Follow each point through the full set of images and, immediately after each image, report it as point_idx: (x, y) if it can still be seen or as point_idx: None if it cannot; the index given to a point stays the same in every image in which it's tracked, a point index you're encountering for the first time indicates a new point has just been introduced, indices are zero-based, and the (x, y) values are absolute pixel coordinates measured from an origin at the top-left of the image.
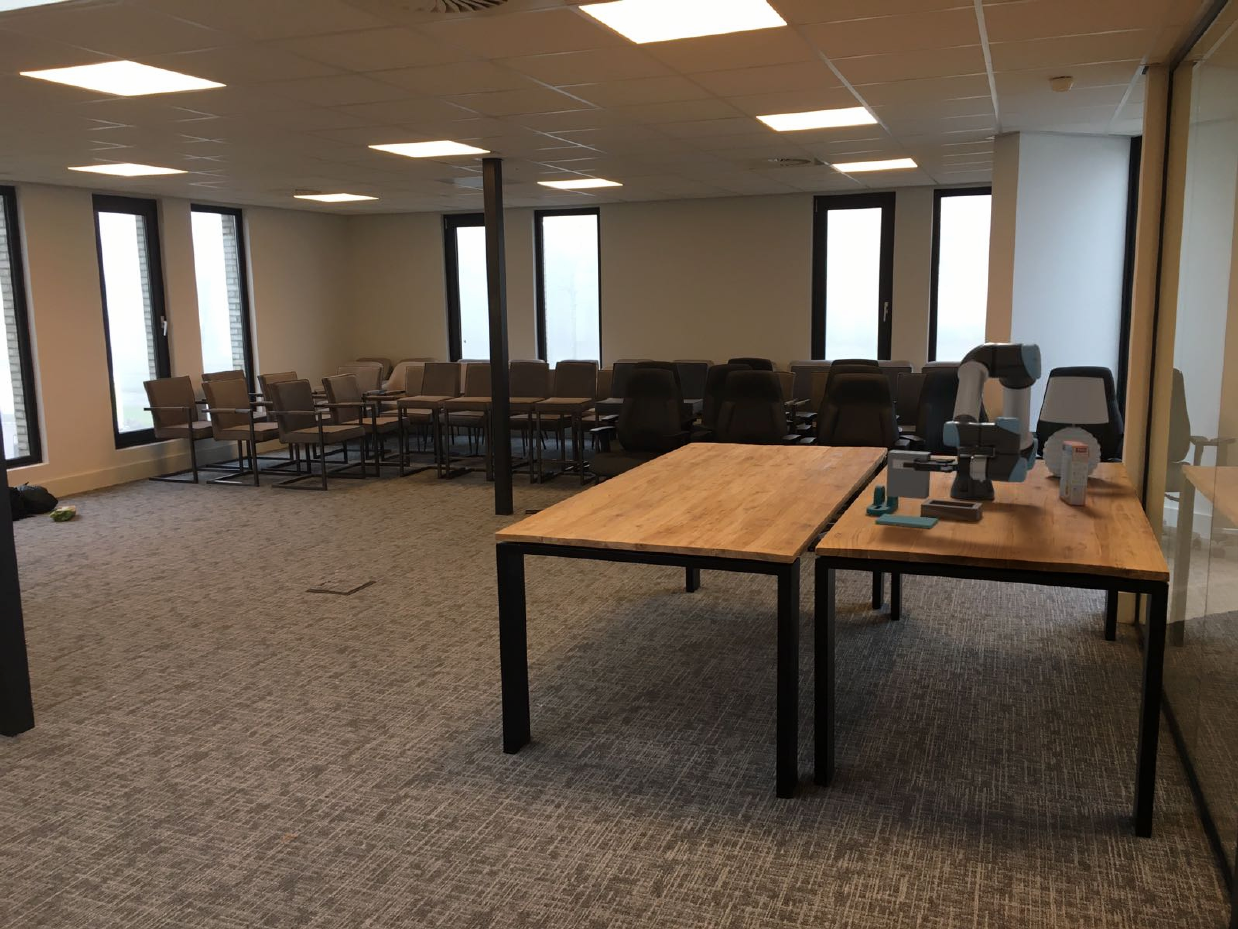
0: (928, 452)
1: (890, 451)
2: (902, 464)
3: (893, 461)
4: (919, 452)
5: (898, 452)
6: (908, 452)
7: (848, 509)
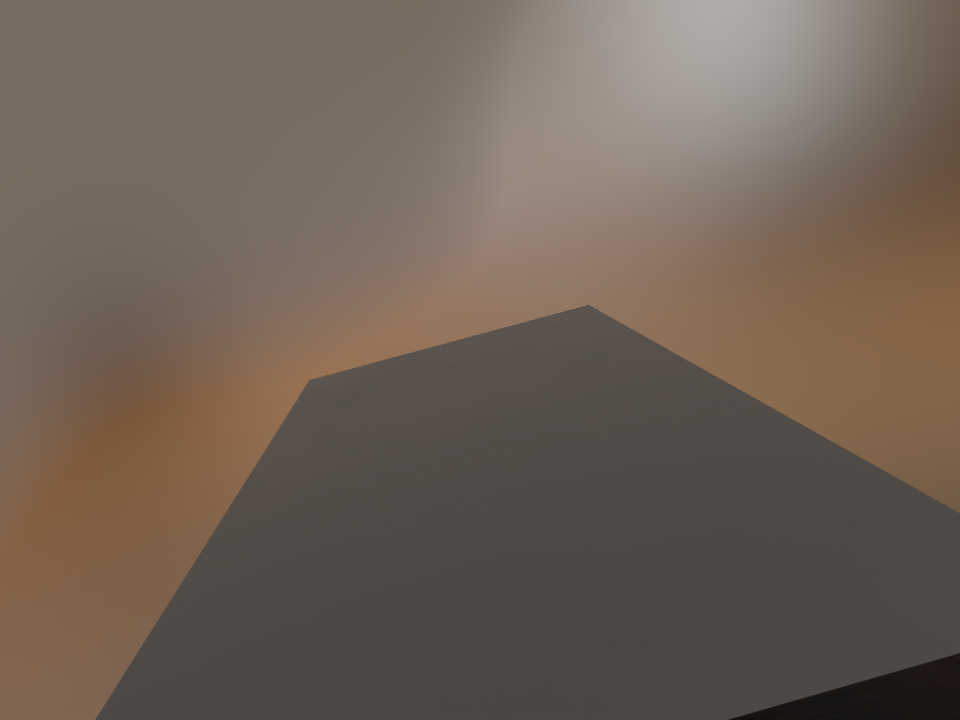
0: (900, 585)
1: (409, 356)
2: None
3: None
4: (596, 486)
5: (334, 408)
6: (421, 434)
7: None
